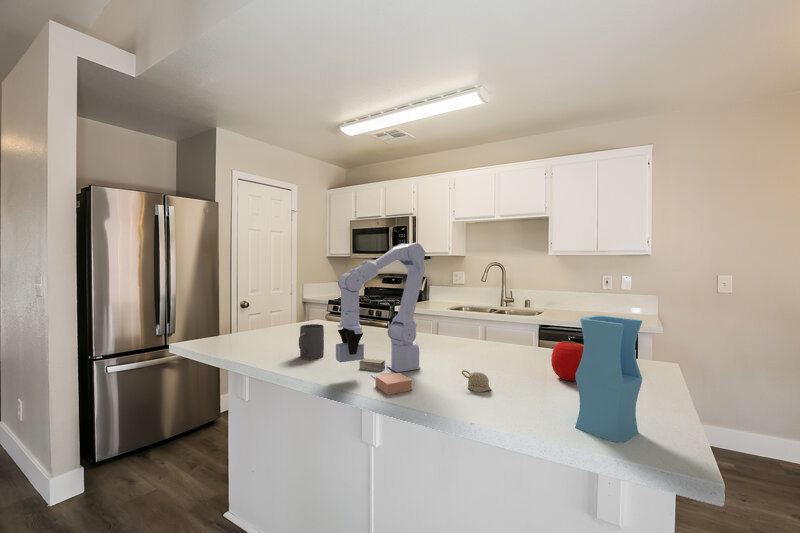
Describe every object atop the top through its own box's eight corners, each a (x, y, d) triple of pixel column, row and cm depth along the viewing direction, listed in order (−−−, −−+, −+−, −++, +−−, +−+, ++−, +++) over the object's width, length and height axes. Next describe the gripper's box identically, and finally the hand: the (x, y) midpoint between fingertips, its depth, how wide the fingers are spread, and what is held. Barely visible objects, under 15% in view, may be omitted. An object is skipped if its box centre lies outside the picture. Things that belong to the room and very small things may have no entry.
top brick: (359, 356, 125) (359, 341, 125) (363, 359, 122) (363, 343, 122) (335, 359, 122) (335, 344, 122) (340, 362, 118) (340, 346, 118)
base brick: (399, 382, 118) (399, 372, 118) (411, 390, 111) (412, 379, 111) (375, 386, 114) (375, 376, 114) (387, 394, 107) (387, 384, 107)
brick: (364, 366, 136) (364, 358, 136) (384, 368, 134) (385, 360, 134) (359, 369, 133) (359, 360, 133) (380, 371, 130) (380, 363, 130)
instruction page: (392, 372, 128) (392, 371, 128) (401, 377, 123) (401, 376, 123) (371, 375, 124) (371, 374, 124) (379, 381, 119) (379, 380, 119)
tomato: (554, 371, 130) (554, 335, 130) (592, 377, 124) (592, 339, 124) (547, 381, 119) (548, 341, 119) (588, 388, 113) (589, 346, 113)
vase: (620, 444, 79) (622, 324, 78) (574, 427, 87) (576, 318, 86) (641, 432, 84) (643, 320, 84) (596, 417, 92) (598, 314, 92)
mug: (307, 352, 155) (307, 323, 154) (328, 354, 152) (328, 324, 152) (288, 361, 142) (288, 329, 141) (310, 363, 139) (310, 330, 139)
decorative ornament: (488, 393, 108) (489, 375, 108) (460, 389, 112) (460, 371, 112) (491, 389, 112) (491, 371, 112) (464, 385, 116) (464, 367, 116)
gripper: (331, 308, 126) (331, 349, 126) (346, 314, 113) (346, 359, 113) (350, 307, 129) (351, 346, 130) (368, 312, 117) (368, 356, 117)
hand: (350, 352), depth 122 cm, fingers closed on top brick, 4 cm apart
